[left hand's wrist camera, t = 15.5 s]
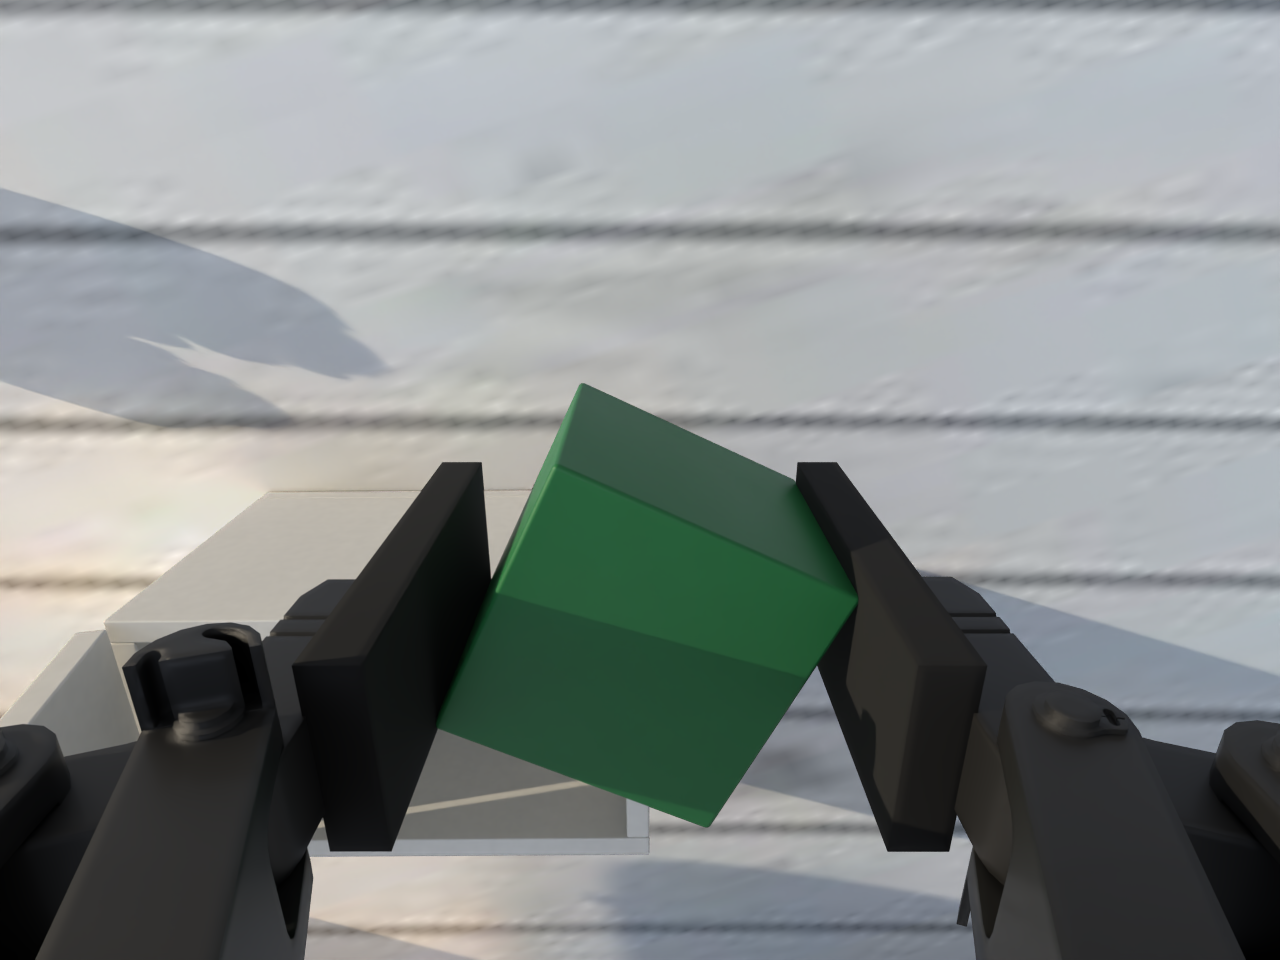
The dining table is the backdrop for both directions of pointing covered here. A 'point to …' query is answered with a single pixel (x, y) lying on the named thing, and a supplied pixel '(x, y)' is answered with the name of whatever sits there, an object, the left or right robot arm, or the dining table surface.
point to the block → (648, 613)
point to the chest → (455, 767)
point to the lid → (79, 698)
